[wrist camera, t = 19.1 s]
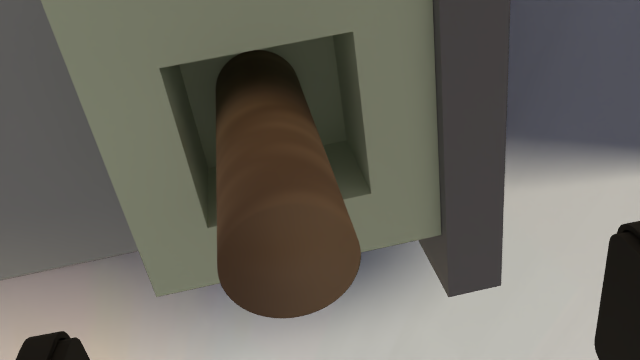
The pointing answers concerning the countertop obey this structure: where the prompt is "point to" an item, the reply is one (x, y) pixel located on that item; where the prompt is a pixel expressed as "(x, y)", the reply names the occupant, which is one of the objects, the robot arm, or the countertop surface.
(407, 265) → the countertop surface
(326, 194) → the dowel
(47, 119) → the grey l-shaped plate
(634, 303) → the robot arm
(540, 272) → the countertop surface
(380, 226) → the socket block
